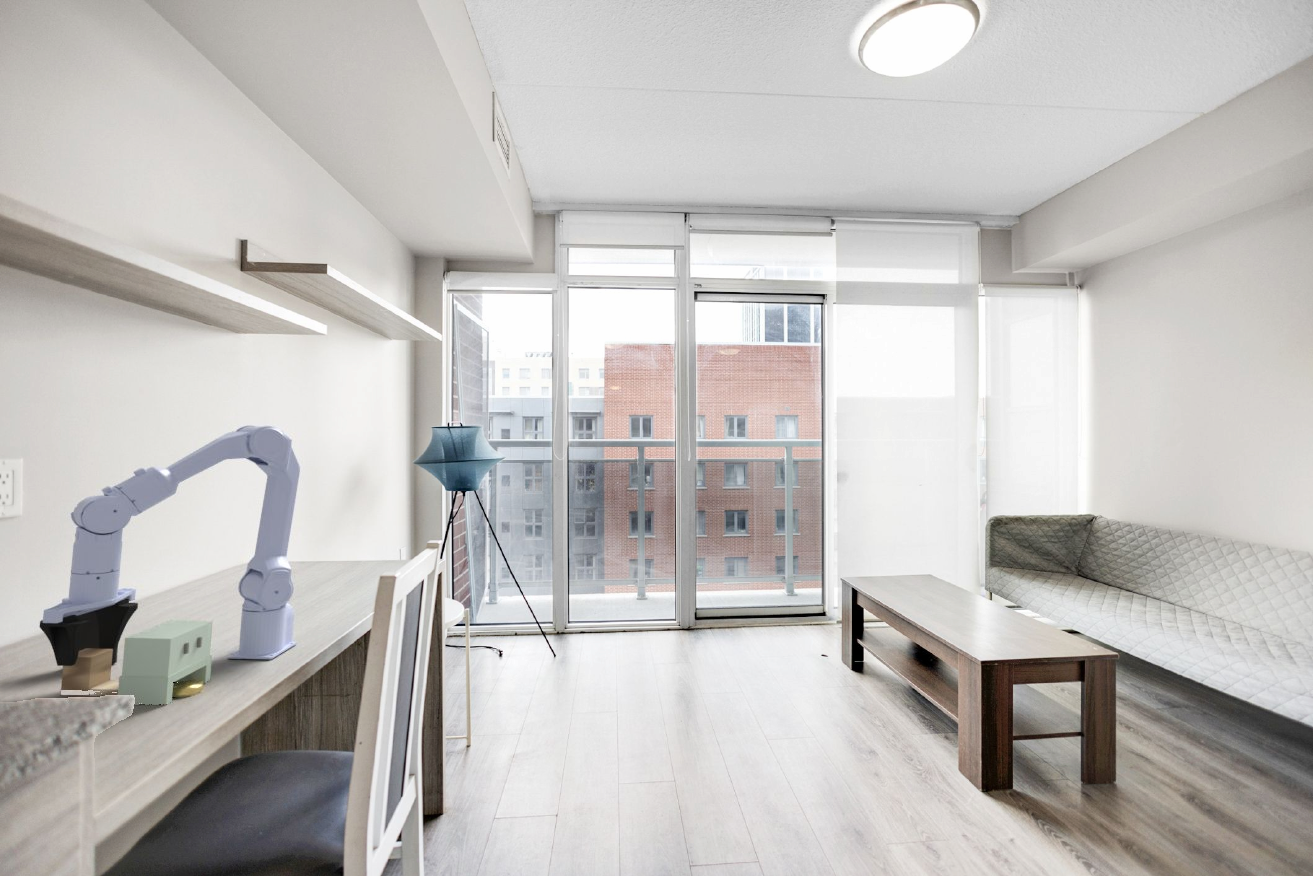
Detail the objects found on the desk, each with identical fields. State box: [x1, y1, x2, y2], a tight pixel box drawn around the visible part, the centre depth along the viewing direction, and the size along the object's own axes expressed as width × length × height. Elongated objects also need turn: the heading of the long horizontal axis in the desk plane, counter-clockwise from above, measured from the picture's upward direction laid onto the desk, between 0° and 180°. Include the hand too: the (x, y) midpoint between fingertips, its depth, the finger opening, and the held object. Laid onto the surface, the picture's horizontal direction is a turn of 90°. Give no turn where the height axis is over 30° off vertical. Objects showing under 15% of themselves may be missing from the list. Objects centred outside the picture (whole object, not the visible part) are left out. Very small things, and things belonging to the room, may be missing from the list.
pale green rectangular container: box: [118, 619, 213, 706], centre depth 94 cm, size 7×10×10 cm
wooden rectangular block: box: [60, 648, 119, 697], centre depth 94 cm, size 14×4×6 cm, turn 95°
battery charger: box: [76, 610, 120, 665], centre depth 104 cm, size 7×4×11 cm, turn 129°
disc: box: [172, 680, 205, 698], centre depth 94 cm, size 4×4×1 cm
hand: (87, 656), depth 93 cm, fingers open, 7 cm apart
